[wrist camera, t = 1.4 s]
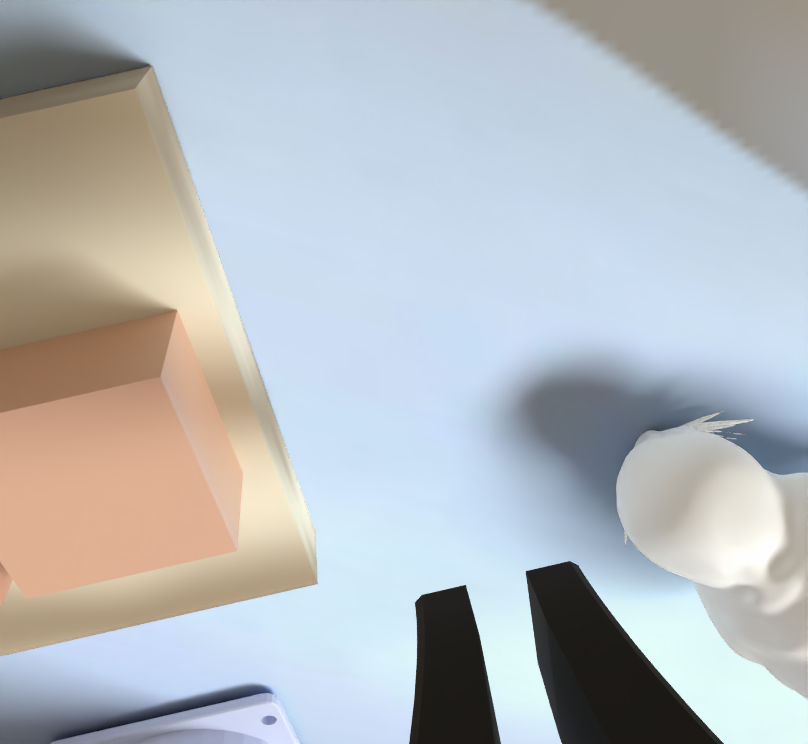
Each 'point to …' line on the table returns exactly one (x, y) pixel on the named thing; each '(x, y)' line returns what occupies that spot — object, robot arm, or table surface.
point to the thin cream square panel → (128, 300)
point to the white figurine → (725, 538)
